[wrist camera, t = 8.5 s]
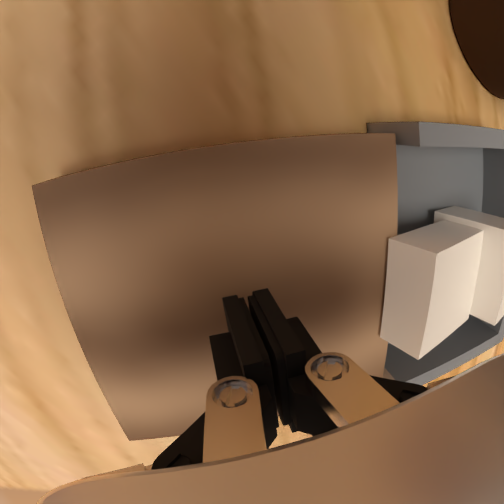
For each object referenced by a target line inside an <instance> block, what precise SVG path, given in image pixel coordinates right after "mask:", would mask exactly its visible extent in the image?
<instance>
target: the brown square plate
mask: <svg viewBox="0 0 504 504" xmlns="http://www.w3.org/2000/svg"><path fill="white" fill-rule="evenodd" d="M32 189H33V194H34V199H35V204H36V208H37V213H38V217H39V221H40V226H41V230H42V234H43V237H44V241H45V245H46V249H47V252H48V256H49V259H50V262H51V266H52V269H53V272H54V275H55V278H56V282H57V285H58V288H59V291H60V293H61V296H62V299H63V302H64V305H65V308H66V310H67V313H68V316H69V318H70V321H71V323H72V326H73V328H74V331H75V333H76V336H77V338H78V341H79V343H80V345H81V348H82V350H83V352H84V355H85V357H86V359H87V361H88V363H89V366H90V368H91V370H92V372H93V374H94V376H95V378H96V380H97V382H98V384H99V386H100V388H101V390H102V392H103V394H104V396H105V398H106V400H107V402H108V404H109V406H110V408H111V409H112V411H113V413H114V415H115V417H116V419H117V420H118V422H119V424H120V426H121V427H122V429H123V431H124V433H125V434H126V436H127V438H128V439H129V441H131V440H143V439H154V438H163V437H171V436H179V435H181V434H182V433H183V432H185V431H186V430H187V429H188V428H189V427H190V426H191V425H192V424H193V423H194V422H195V421H196V420H197V419H198V418H199V417H200V416H201V415H202V414H203V413H204V412H205V408H206V395H207V391H208V389H209V388H210V387H211V385H212V384H214V383H215V382H216V381H217V376H216V371H215V366H214V361H213V355H212V350H211V345H210V339H209V336H211V335H216V334H221V333H226V332H229V331H228V326H227V321H226V316H225V311H224V306H223V300H222V298H223V297H228V296H232V295H237V296H238V298H242V297H244V300H245V302H246V304H247V307H248V309H249V304H248V296H251V295H252V292H253V291H256V290H261V289H266V288H268V290H269V291H270V293H271V295H272V296H273V298H274V299H275V301H276V303H277V304H278V306H279V308H280V309H281V311H282V313H283V314H284V316H285V317H286V319H288V318H292V317H298V318H299V319H300V321H301V322H302V324H303V325H304V327H305V328H306V330H307V331H308V333H309V334H310V336H311V337H312V339H313V340H314V342H315V343H316V344H317V346H318V347H319V349H320V350H321V352H322V353H325V352H337V353H341V354H344V355H346V356H348V357H349V358H351V359H352V360H353V361H354V362H355V363H356V364H357V365H358V366H360V367H361V368H362V369H363V370H364V371H365V372H366V373H367V374H368V375H371V376H376V377H381V378H383V372H384V366H385V360H386V353H387V347H388V342H387V341H385V340H384V339H382V338H380V332H381V324H382V316H383V307H384V297H385V287H386V274H387V260H388V242H389V238H391V237H394V236H397V222H398V185H397V155H396V138H395V133H349V134H326V135H309V136H295V137H283V138H272V139H262V140H253V141H244V142H236V143H228V144H220V145H213V146H206V147H199V148H193V149H187V150H180V151H175V152H169V153H163V154H158V155H152V156H147V157H142V158H137V159H132V160H128V161H123V162H118V163H114V164H109V165H105V166H101V167H96V168H92V169H88V170H84V171H80V172H76V173H72V174H69V175H65V176H61V177H58V178H55V179H51V180H48V181H45V182H42V183H39V184H36V185H33V186H32ZM249 311H250V310H249ZM277 415H278V416H279V414H278V411H277Z"/></svg>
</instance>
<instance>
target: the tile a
mask: <svg viewBox="0 0 504 504" xmlns="http://www.w3.org/2000/svg"><path fill="white" fill-rule="evenodd" d="M483 233H484V230H481V229H478V228H474V227H471V226H467V225H463V224H459V223H456V222H452V221H448V220H442V221H439V222H436V223H433V224H430V225H427V226H424V227H421V228H418V229H415V230H412V231H409V232H406V233H403V234H400V235H397V236H394V237H391V238H389V242H388V260H387V274H386V287H385V297H384V307H383V316H382V324H381V332H380V338H382V339H384V340H385V341H387V342H389V343H390V344H392V345H394V346H395V347H397V348H399V349H401V350H402V351H404V352H406V353H407V354H409V355H411V356H412V357H414V358H416V359H417V360H419V359H420V358H422V357H423V356H424V355H425V354H427V353H428V352H429V351H431V350H432V349H433V348H434V347H436V346H437V345H438V344H439V343H441V342H442V341H443V340H444V339H445V338H447V337H448V336H449V335H450V334H451V333H453V332H454V331H455V330H456V329H457V328H458V327H460V326H461V325H462V324H463V323H464V322H465V321H466V320H467V319H468V318H469V313H470V309H471V305H472V300H473V295H474V291H475V286H476V280H477V275H478V269H479V263H480V256H481V249H482V242H483Z"/></svg>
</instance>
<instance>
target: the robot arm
mask: <svg viewBox="0 0 504 504" xmlns="http://www.w3.org/2000/svg"><path fill="white" fill-rule="evenodd" d="M222 300H223V306H224V311H225V316H226V321H227V326H228V331H229V332H226V333H221V334H216V335H211V336H209V339H210V345H211V350H212V355H213V361H214V366H215V371H216V376H217V381H216V382H215V383H214V384H212V385H211V387H210V388H209V389H208V391H207V395H206V408H205V412H204V413H203V414H202V415H201V416H200V417H199V418H198V419H197V420H196V421H195V422H194V423H193V424H192V425H191V426H190V427H189V428H188V429H187V430H186V431H185V432H183V433H182V434H181V435H180V436H179V437H178V438H177V439H176V440H175V441H174V442H173V443H172V444H171V445H170V446H169V447H168V448H167V449H165V450H164V451H163V452H162V453H161V454H160V455H159V456H158V457H157V458H156V460H155V461H154V462H153V464H152V465H148V466H144V464H143V463H142V464H139V465H135V466H131V467H128V468H124V469H120V470H116V471H111V472H107V473H103V474H98V475H94V476H89V477H85V478H83V479H80V480H76V481H73V482H71V483H68V484H65V485H62V486H59V487H57V488H55V489H53V490H51V491H49V492H47V493H46V494H45V495H44V496H42V497H41V498H40V500H39V501H38V502H37V503H36V504H504V354H501V355H498V356H495V357H493V358H490V359H488V360H486V361H484V362H481V363H479V364H477V365H476V366H474V367H472V368H470V369H468V370H466V371H464V372H462V373H460V374H458V375H456V376H453V377H450V378H446V379H443V380H439V381H436V382H432V383H428V386H427V387H424V386H422V385H419V384H415V383H409V382H403V381H397V380H392V379H386V378H381V377H376V376H371V375H368V374H367V373H366V372H365V371H364V370H363V369H362V368H361V367H360V366H358V365H357V364H356V363H355V362H354V361H353V360H352V359H351V358H349V357H348V356H346V355H344V354H341V353H337V352H325V353H322V352H321V350H320V349H319V347H318V346H317V344H316V343H315V342H314V340H313V339H312V337H311V336H310V334H309V333H308V331H307V330H306V328H305V327H304V325H303V324H302V322H301V321H300V319H299V318H298V317H292V318H288V319H286V317H285V316H284V314H283V313H282V311H281V309H280V308H279V306H278V304H277V303H276V301H275V299H274V298H273V296H272V295H271V293H270V291H269V290H268V288H266V289H261V290H256V291H253V292H252V295H251V296H248V304H249V309H248V307H247V304H246V302H245V300H244V297H242V298H238V296H237V295H232V296H228V297H223V298H222ZM249 310H250V311H249ZM277 411H278V414H279V416H280V419H281V421H282V424H283V425H288V424H289V426H290V428H291V431H292V433H293V432H296V431H301V432H304V433H307V437H308V438H306V439H303V440H300V441H296V442H293V443H289V444H286V445H282V446H278V447H274V448H271V449H269V446H270V445H271V444H272V442H273V441H274V440H275V438H276V437H277V430H276V428H277V427H279V423H278V415H277Z"/></svg>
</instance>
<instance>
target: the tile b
mask: <svg viewBox="0 0 504 504" xmlns="http://www.w3.org/2000/svg"><path fill="white" fill-rule="evenodd" d="M442 220H448V221H452V222H456V223H459V224H463V225H467V226H471V227H474V228H478V229H481V230H484V233H483V242H482V249H481V256H480V263H479V269H478V275H477V280H476V286H475V291H474V295H473V300H472V305H471V309H470V313H469V314H470V315H472V316H475V317H477V318H479V319H481V320H483V321H485V322H487V323H490V324H492V325H494V326H495V325H496V324H497V323H498V322H499V320H500V319H501V318H502V317H503V316H504V218H502V217H498V216H494V215H490V214H486V213H483V212H479V211H475V210H471V209H467V208H462V207H458V206H451V207H448V208H444V209H441V210H437V211H435V213H434V223H436V222H439V221H442Z"/></svg>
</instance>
